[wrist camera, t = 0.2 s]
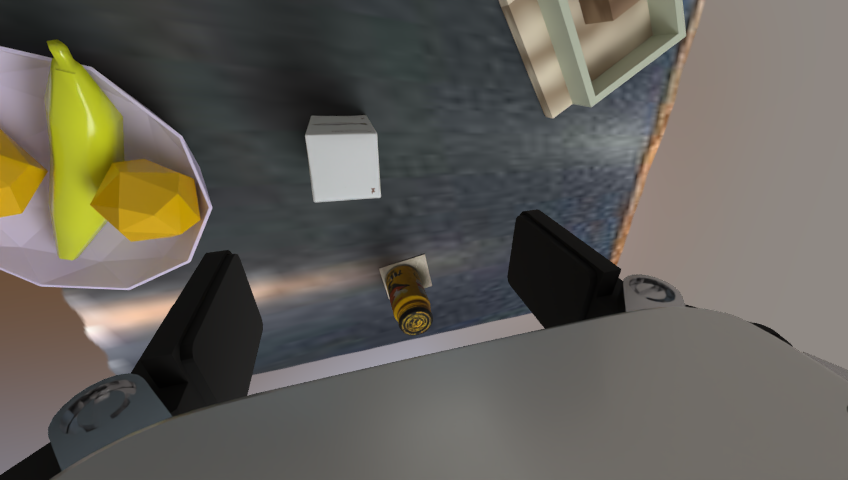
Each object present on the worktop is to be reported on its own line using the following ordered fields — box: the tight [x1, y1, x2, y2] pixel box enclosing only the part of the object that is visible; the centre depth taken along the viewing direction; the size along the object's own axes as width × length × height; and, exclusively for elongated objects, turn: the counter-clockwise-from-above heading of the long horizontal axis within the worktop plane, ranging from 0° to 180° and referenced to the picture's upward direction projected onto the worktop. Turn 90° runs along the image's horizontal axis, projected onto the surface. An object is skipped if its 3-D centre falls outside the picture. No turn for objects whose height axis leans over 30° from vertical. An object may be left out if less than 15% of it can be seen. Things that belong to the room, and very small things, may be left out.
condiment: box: [379, 254, 433, 335], centre depth 53 cm, size 7×8×12 cm
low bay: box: [537, 0, 686, 107], centre depth 41 cm, size 16×15×4 cm
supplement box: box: [305, 115, 381, 202], centre depth 39 cm, size 7×7×13 cm
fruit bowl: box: [0, 39, 212, 290], centre depth 33 cm, size 28×27×11 cm
